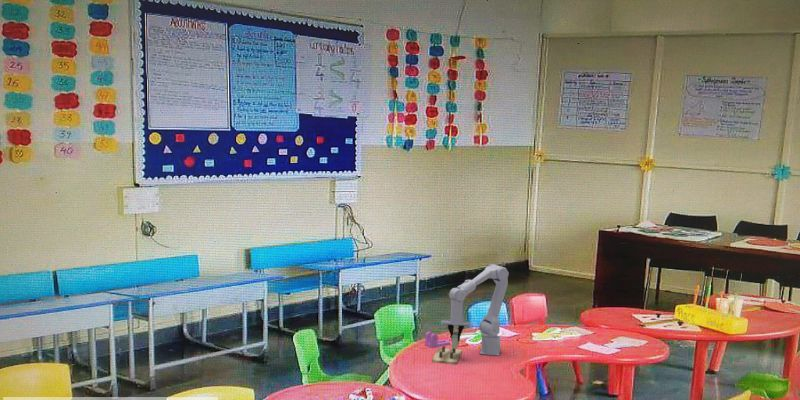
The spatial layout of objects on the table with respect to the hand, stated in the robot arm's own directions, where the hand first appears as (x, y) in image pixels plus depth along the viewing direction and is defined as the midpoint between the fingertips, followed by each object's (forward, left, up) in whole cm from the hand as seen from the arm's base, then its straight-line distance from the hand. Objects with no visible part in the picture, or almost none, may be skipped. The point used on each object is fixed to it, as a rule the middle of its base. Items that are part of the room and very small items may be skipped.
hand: (455, 340), depth 356 cm
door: (0, 0, -2) cm, 2 cm away
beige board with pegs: (+4, -1, -9) cm, 10 cm away
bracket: (+11, -20, -9) cm, 24 cm away
